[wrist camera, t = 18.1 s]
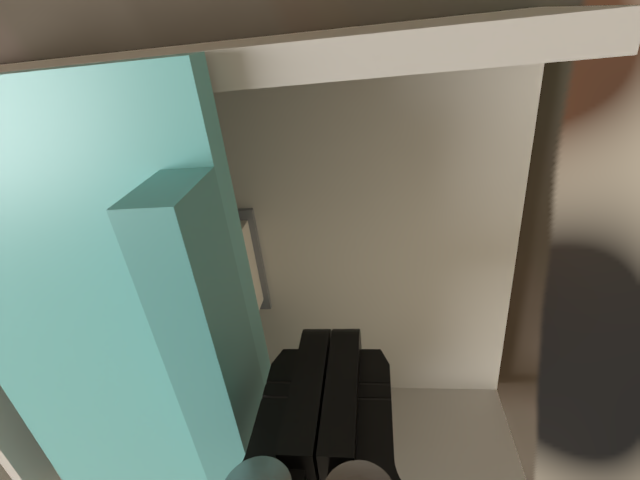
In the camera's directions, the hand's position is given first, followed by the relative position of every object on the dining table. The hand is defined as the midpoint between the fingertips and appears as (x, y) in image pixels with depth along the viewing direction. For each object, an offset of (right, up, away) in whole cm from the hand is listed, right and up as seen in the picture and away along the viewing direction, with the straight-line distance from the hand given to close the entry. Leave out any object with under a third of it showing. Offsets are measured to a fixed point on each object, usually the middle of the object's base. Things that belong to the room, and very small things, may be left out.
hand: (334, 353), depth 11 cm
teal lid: (-6, 0, +1) cm, 6 cm away
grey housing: (-2, +3, +6) cm, 7 cm away
